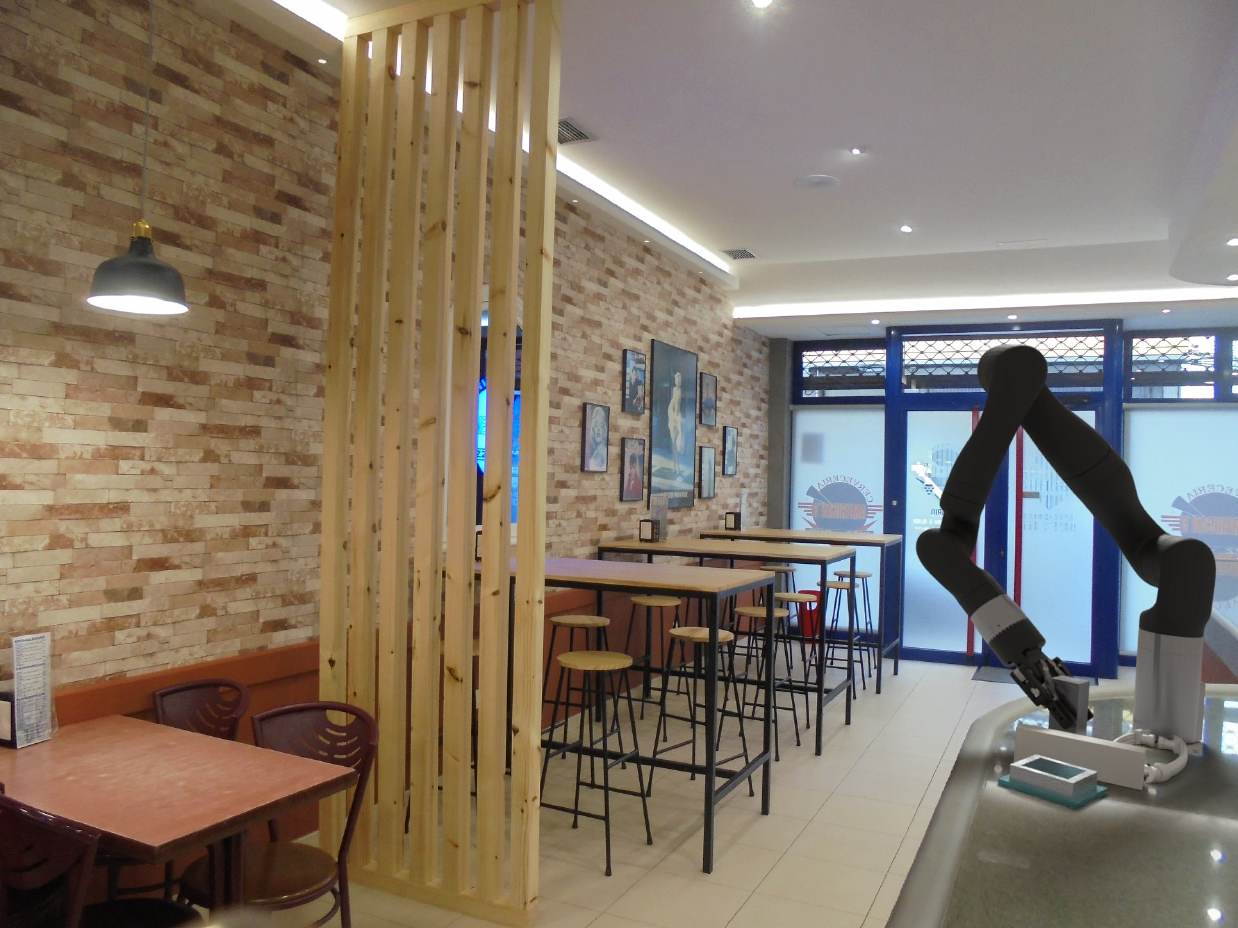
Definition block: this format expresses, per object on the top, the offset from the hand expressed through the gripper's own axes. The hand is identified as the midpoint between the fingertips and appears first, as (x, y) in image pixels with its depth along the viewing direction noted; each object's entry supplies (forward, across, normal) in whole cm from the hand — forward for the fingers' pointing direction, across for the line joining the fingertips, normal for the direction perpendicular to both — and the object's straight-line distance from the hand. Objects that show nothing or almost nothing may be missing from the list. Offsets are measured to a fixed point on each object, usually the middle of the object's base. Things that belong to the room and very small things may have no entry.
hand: (1079, 723), depth 134 cm
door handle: (+9, +8, -1) cm, 12 cm away
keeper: (+6, -20, 0) cm, 21 cm away
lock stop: (+2, 0, +5) cm, 5 cm away
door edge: (+6, -9, +1) cm, 11 cm away
